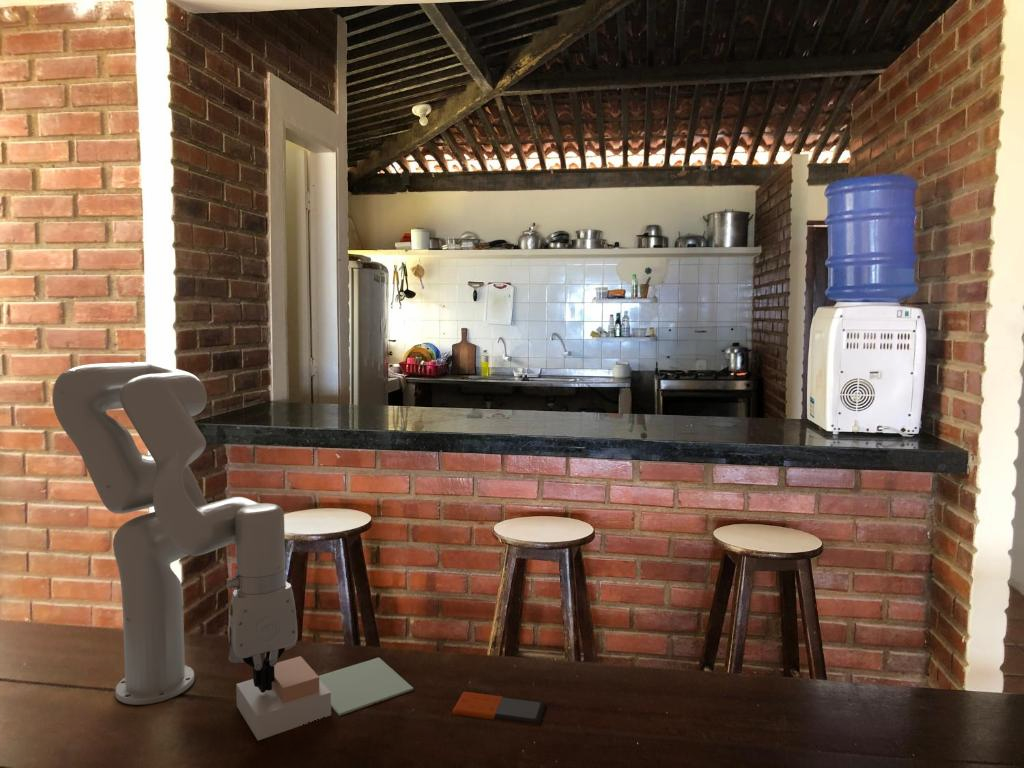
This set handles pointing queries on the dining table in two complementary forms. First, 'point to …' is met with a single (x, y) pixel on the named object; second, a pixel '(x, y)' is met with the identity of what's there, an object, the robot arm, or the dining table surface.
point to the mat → (363, 685)
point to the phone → (500, 708)
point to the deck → (279, 709)
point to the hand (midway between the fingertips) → (264, 687)
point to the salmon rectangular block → (294, 679)
